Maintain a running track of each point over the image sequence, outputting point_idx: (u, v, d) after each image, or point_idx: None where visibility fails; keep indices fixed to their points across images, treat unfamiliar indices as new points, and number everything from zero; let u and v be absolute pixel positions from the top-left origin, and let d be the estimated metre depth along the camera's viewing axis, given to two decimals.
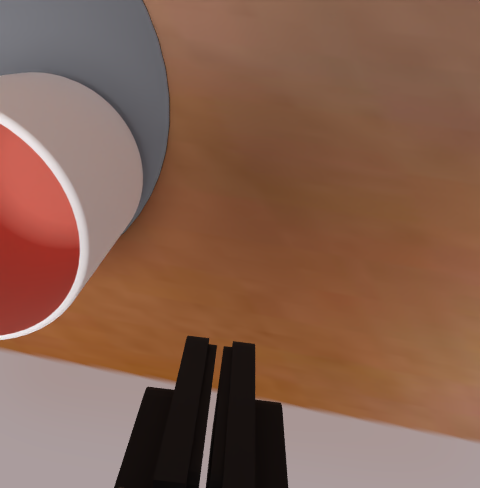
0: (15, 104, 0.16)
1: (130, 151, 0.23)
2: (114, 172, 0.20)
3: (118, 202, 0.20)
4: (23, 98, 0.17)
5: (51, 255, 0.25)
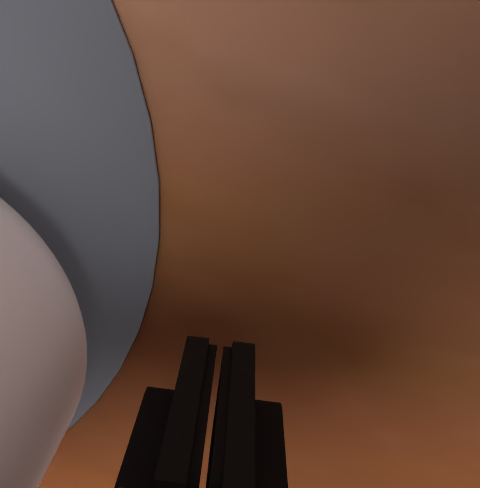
0: None
1: (44, 325, 0.09)
2: None
3: None
4: None
5: None
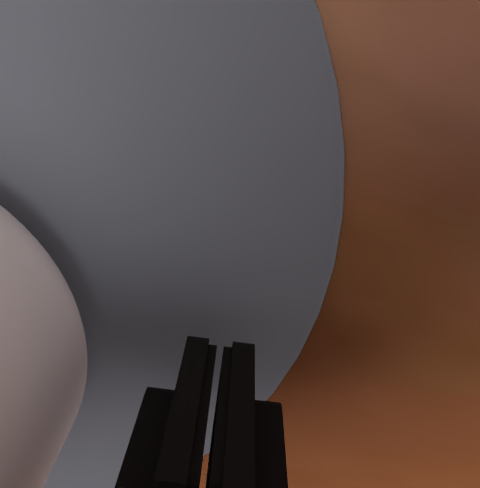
0: None
1: (39, 323, 0.09)
2: None
3: None
4: None
5: None
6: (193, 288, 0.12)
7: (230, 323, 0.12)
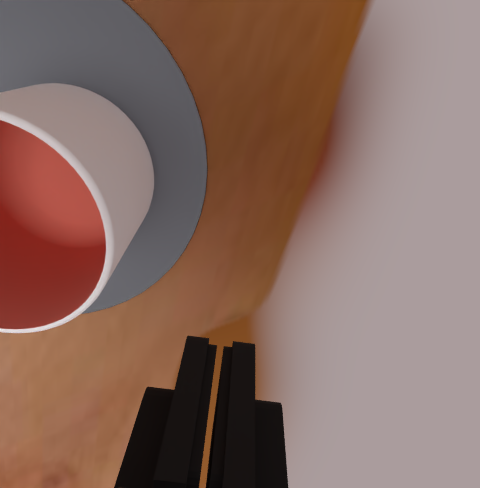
0: None
1: None
2: None
3: (16, 92, 0.20)
4: None
5: None
6: (43, 30, 0.24)
7: (61, 11, 0.24)
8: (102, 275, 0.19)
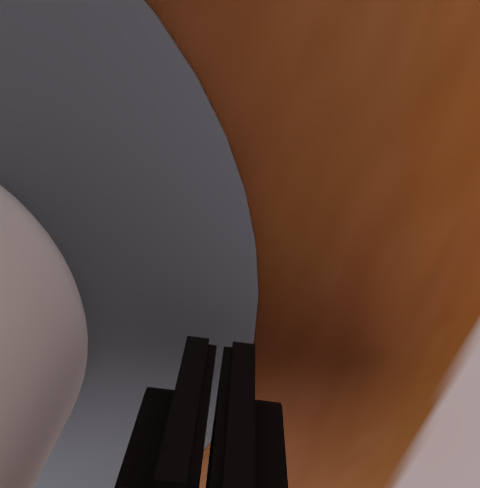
0: None
1: None
2: None
3: None
4: None
5: None
6: None
7: None
8: None
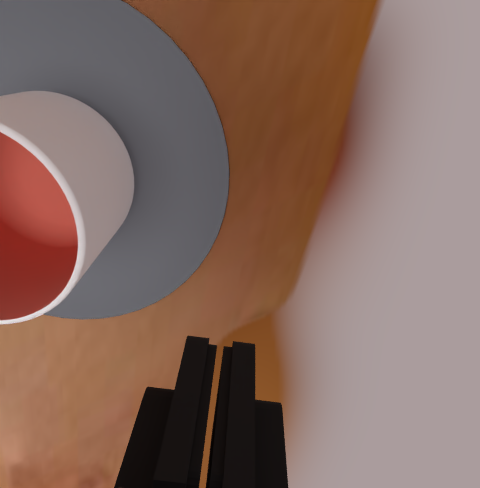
0: None
1: None
2: None
3: (5, 99, 0.21)
4: None
5: None
6: (72, 47, 0.26)
7: (87, 28, 0.25)
8: (73, 274, 0.20)
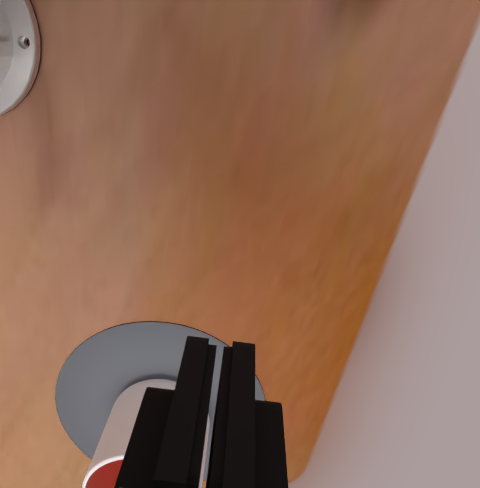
0: (93, 458, 0.38)
1: (143, 391, 0.43)
2: None
3: None
4: (96, 450, 0.39)
5: None
6: (176, 354, 0.44)
7: None
8: None
